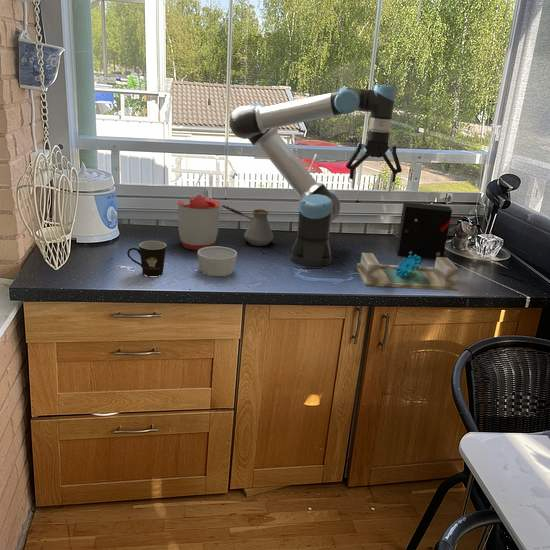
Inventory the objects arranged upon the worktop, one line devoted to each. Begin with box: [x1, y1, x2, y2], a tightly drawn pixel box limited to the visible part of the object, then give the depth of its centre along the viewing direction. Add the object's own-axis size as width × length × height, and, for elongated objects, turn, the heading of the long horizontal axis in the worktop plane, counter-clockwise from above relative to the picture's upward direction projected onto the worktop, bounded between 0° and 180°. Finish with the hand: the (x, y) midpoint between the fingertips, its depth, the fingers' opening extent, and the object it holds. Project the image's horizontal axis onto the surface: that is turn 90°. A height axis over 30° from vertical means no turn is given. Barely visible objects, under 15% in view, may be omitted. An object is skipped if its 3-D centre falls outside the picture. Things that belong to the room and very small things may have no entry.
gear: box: [395, 254, 423, 281], centre depth 198 cm, size 11×6×10 cm
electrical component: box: [395, 201, 453, 260], centre depth 223 cm, size 18×10×20 cm, turn 84°
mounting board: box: [355, 252, 460, 291], centre depth 198 cm, size 32×16×7 cm, turn 93°
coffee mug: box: [127, 240, 167, 276], centre depth 185 cm, size 12×9×10 cm
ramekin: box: [197, 245, 238, 277], centre depth 192 cm, size 13×13×7 cm
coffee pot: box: [219, 204, 274, 247], centre depth 222 cm, size 21×12×15 cm, turn 99°
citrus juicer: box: [177, 194, 221, 251], centre depth 213 cm, size 16×17×20 cm
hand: (370, 189), depth 209 cm, fingers open, 13 cm apart
